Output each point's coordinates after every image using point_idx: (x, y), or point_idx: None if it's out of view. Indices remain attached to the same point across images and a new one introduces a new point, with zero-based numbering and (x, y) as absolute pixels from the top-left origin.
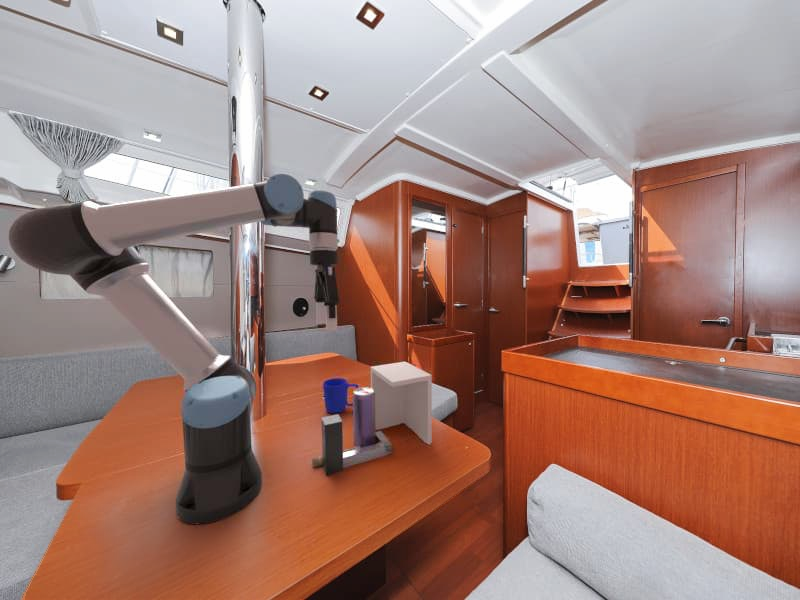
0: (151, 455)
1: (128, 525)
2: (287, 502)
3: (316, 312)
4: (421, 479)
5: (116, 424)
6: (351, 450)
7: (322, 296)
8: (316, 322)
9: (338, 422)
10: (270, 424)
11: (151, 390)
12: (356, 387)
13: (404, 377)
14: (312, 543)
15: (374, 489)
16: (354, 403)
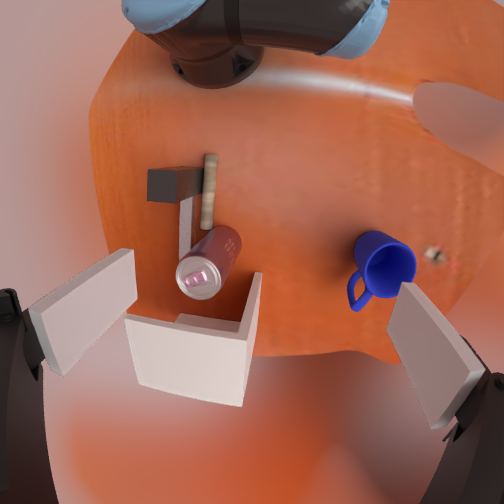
0: None
1: None
2: (162, 116)
3: (437, 321)
4: None
5: None
6: (202, 214)
7: (451, 456)
8: (418, 287)
9: (147, 193)
10: (385, 125)
11: None
12: (351, 304)
13: (141, 349)
14: (106, 136)
15: (135, 212)
16: (198, 247)
